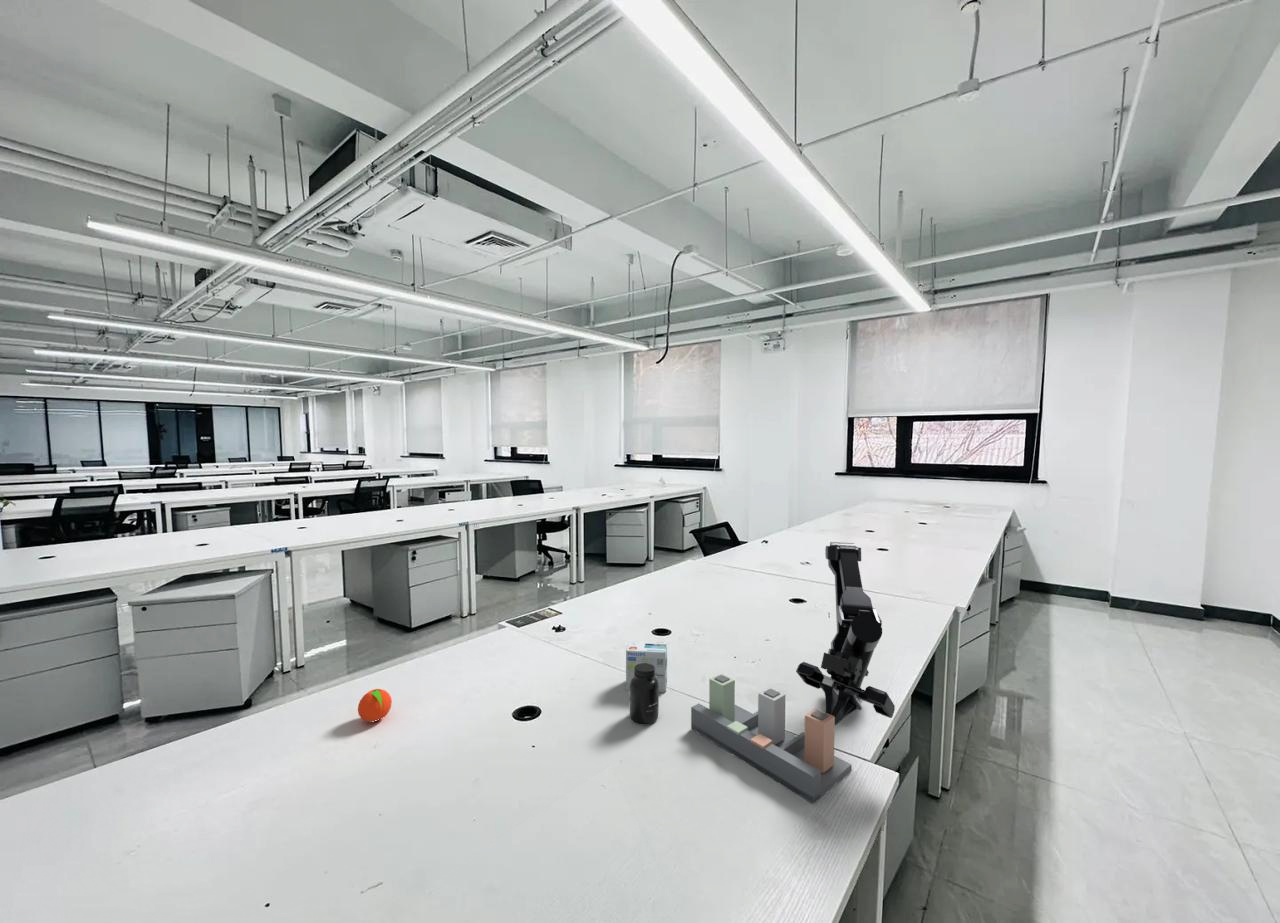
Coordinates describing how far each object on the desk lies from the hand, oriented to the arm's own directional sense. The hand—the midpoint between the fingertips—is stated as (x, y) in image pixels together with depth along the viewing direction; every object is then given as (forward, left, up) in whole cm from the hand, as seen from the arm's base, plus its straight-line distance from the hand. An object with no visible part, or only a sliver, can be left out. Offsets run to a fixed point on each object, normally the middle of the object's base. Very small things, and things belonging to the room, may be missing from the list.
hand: (828, 727), depth 96 cm
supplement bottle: (+28, -29, -8) cm, 41 cm away
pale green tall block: (+13, -19, -6) cm, 24 cm away
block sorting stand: (+8, -9, -8) cm, 14 cm away
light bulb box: (+22, -43, -8) cm, 49 cm away
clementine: (+87, -49, -8) cm, 100 cm away
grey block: (+6, -10, -6) cm, 13 cm away
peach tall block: (+3, +1, -6) cm, 7 cm away
